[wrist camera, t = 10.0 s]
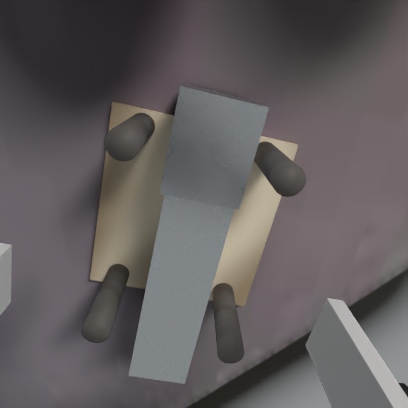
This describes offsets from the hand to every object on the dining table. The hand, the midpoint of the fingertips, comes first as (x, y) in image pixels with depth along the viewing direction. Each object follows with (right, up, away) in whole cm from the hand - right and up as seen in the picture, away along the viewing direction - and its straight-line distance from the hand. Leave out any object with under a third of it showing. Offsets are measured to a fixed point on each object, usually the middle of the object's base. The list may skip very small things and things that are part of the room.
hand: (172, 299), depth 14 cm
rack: (0, +3, +10) cm, 10 cm away
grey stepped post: (0, +3, +9) cm, 10 cm away
